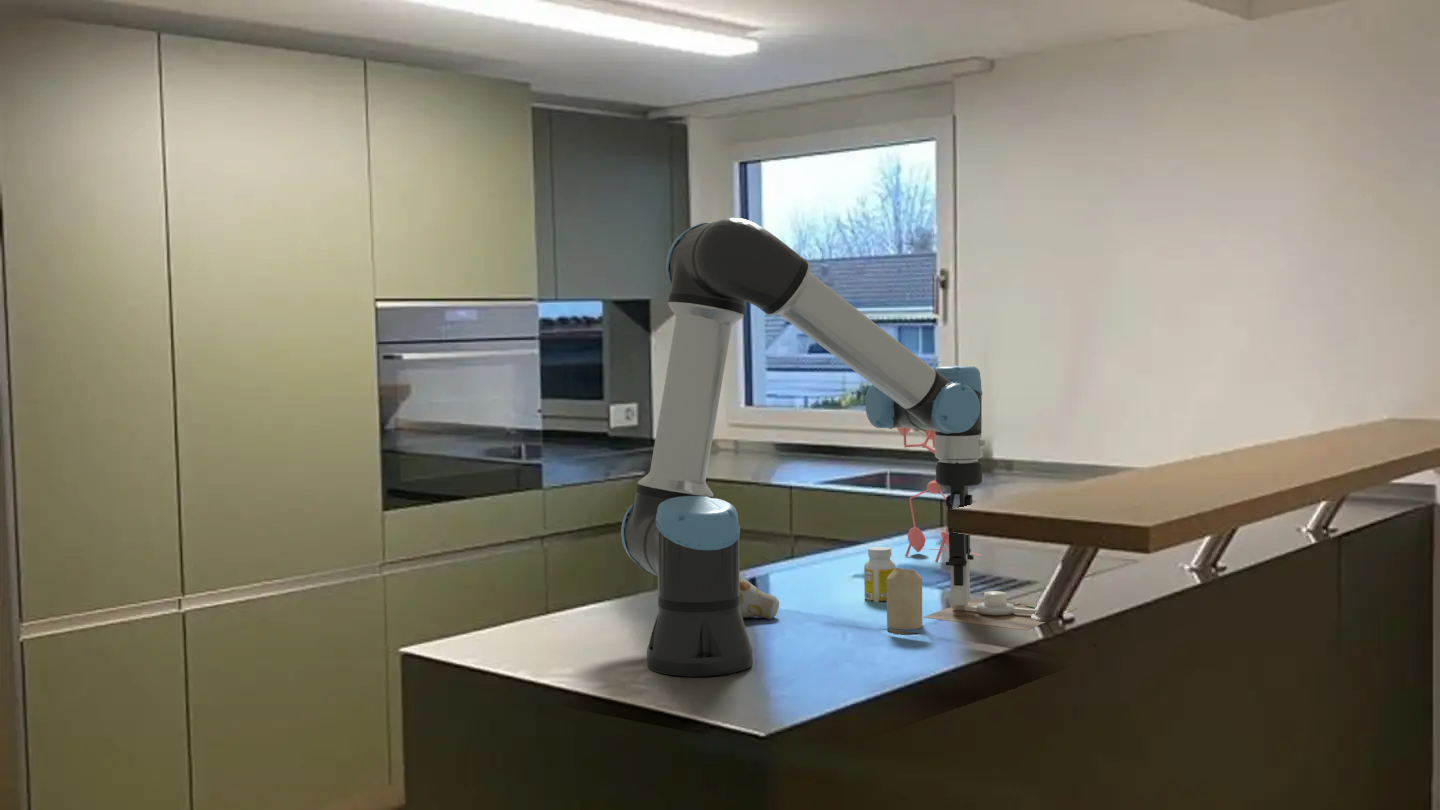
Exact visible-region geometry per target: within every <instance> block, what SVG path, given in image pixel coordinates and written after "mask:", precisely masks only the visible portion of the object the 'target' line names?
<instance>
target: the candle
mask: <svg viewBox="0 0 1440 810" xmlns="http://www.w3.org/2000/svg"><path fill="white" fill-rule="evenodd" d="M886 626H887V627H888V628H886V629H887V630H886V631H887V632H888V633H889V634H892V633H893V634H894V635H899V634H900V635H899V636H911V635H912V636H913V635H918V634H920V632H914V631H913V632H912V631H906V630H916V629H919V628H922V627H923V577H922V576H921V575H920V574H919V573H918V572H917V571H916V570H915V569H913V568H912V569H908V568H907V569H906V568H900V567H896V569H894V570H893V571H892V572H891V574H890V575H889V576H888V577H887V602H886Z"/></svg>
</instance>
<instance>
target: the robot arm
mask: <svg viewBox="0 0 1440 810" xmlns="http://www.w3.org/2000/svg"><path fill="white" fill-rule="evenodd" d="M665 263H666V264H665V266H666V276H667V278H668V281H669V284H670V291H669V297H668V301H667V302H668V303H667V304H668V307H669V308H670V310H671V311H672V313H673V314H674V316H675V320H674V321H675V322H674V326H673V327H674V328H673V332H672V333H673V334H672V339H671V345H670V351H669V356H668V362H667V363H668V364H667V367H666V373H665V374H666V375H665V379H664V387H663V393H662V398H661V403H660V410H659V417H658V422H657V429H656V433H655V439H654V444H653V450H652V451H653V452H652V458H651V462H650V463H651V464H650V469H649V472H648V473H647V474H646V475H644V476H643V477H642V478H640V479H639V480H638V481H637V486H636V490H635V491H636V493H635V498H634V502H633V503H632V504H631V505H630V506H629V508H628V509H627V510H626V512H625V514H624V516H623V520H622V522H621V529H620V535H621V542H622V545H623V548H624V550H625V552H626V554H627V556H629V558H630V559H631V560H632V561H633V562H634V564H635V565H636V566H638V567H639V569H640V570H643V571H644V572H647V573H648V574H651V575H653V576H657V600H658V601H657V603H658V605H657V606H658V608H657V615H656V617H655V622H654V625H653V628H652V632H651V634H650V635H651V636H650V639H649V644H648V646H647V648H646V666H647V668H649V670H652V671H653V672H657V673H660V674H664V675H669V676H670V675H672V676H679V677H681V676H682V677H713V676H722V675H728V674H730V675H731V674H734V673H738V672H742V671H745V670H747V669H749V668H750V667H752V665H753V663H754V661H753V659H754V658H753V657H754V656H753V655H754V654H753V653H754V652H753V646H752V644H751V642H750V639H749V635H748V632H747V629H746V625H745V622H744V618H742V616H741V613H740V599H739V595H740V587H739V577H740V536H741V527H740V523H739V514H738V511H737V509H736V508H735V505H733V504H731V503H730V502H728V501H726V500H723V499H720V498H714V493H713V492H712V490H711V489H710V487H709V486H708V484H707V482H706V480H707V474H708V468H709V463H710V457H711V450H712V445H713V438H714V432H715V427H716V426H715V425H716V420H717V416H718V415H717V414H718V409H719V403H720V397H721V391H722V385H723V379H724V373H725V367H726V361H727V355H728V351H729V350H728V349H729V344H730V339H731V337H730V336H731V332H732V328H733V326H734V325H735V324H736V323H738V322H739V321H740V320H742V319H743V318H744V314H745V310H746V309H745V308H746V304H747V303H749V304H751V305H753V306H756V307H757V309H759V310H760V311H763V313H765V314H767V315H768V316H776V315H779V316H781V317H782V318H784V320H786V321H787V322H788V323H789V324H791V325H793V326H794V327H795V328H797V329H798V330H799V331H801V332H802V333H803V334H804V335H806V336H808V337H809V338H810V340H813V341H814V342H815V343H816V344H818V346H820V347H822V348H823V349H824V350H825V351H827V352H828V353H830V354H831V355H833V356H834V357H835V358H836V359H838V360H839V361H841V362H842V363H843V364H845V365H846V366H847V367H848V368H850V369H851V370H853V371H854V372H855V373H856V374H858V375H859V376H861V377H862V378H863V379H865V380H866V381H867V382H869V383H870V384H871V385H870V386H869V387H868V390H867V391H866V395H865V405H864V406H865V413H866V414H865V415H866V416H867V419H868V421H869V423H870V424H871V426H873V427H875V428H876V429H889V430H892V429H897V428H911V430H912V429H913V430H923V431H926V430H931V431H935V448H934V450H935V454H934V456H935V457H934V458H936V459H938V461H937V462H936V463H935V477H936V482H937V484H939V485H940V486H947V487H948V486H949V487H950V490H949V491H950V492H949V494H947V496H945V497H946V500H945V505H946V511H947V510H948V511H949V510H950V509H954V508H959V507H964V506H967V505H971V504H972V505H973V495H972V494H969V488H968V487H972V486H979V485H981V484H982V482H983V463H982V462H981V461H980V460H979V459H981V458H982V457H983V454H982V453H983V451H982V450H983V449H982V446H983V447H985V446H986V444H987V442H986V440H985V439H981V438H982V427H983V425H982V423H983V420H982V412H983V411H982V406H983V405H982V403H983V402H982V398H983V397H982V396H983V391H982V389H983V388H982V378H981V372H980V370H979V368H977V366H974V365H973V366H972V365H946V366H945V365H944V366H938V367H936V368H935V369H934V368H933V367H932V366H931V365H929V364H928V363H927V362H926V361H924V360H923V359H922V358H920V357H919V356H918V355H917V354H915V353H914V352H912V351H911V350H910V349H909V348H907V347H906V346H905V345H903V344H902V343H901V342H899V341H898V340H897V339H896V338H894V336H892V334H890V333H888V332H887V331H885V329H883V328H882V327H881V326H879V325H878V324H877V323H875V322H874V321H873V320H871V318H869V317H868V316H867V315H865V314H864V313H863V312H861V311H860V310H859V309H857V308H856V307H855V306H854V305H852V304H851V303H850V302H848V301H847V300H846V299H844V298H843V297H842V296H841V295H839V294H838V293H837V292H835V290H833V289H831V288H830V286H829V285H827V284H826V283H824V282H823V281H822V280H821V279H819V278H818V277H816V276H815V275H814V274H813V273H812V272H811V265H810V262H808V261H807V260H806V259H805V258H804V257H803V256H801V255H800V254H799V253H798V252H796V251H795V250H793V249H792V248H791V247H789V246H788V245H787V244H786V243H784V241H782V240H781V239H779V238H778V237H777V236H775V235H774V234H772V232H770V231H769V230H768V229H765V228H764V227H763V226H760V225H758V224H757V223H756V222H754V221H751V220H748V219H745V218H738V217H729V218H724V219H720V220H717V221H712V222H702V223H699V224H696V225H693V226H691V227H690V228H688V229H687V230H685V231H683V232H682V233H681V234H679V235H678V236H677V237H676V239H674V241H673V243H672V244H671V246H670V248H669V250H668V253H667V256H666V262H665ZM746 302H747V303H746ZM972 505H971V506H972ZM948 535H949V547H948V552H949V553H948V554H949V555H948V561H945V566H950V567H949V568H950V569H949V570H950V571H949V572H950V576H949V577H950V605H951V606H952V605H968V600H971V580H970V579H971V577H970V575H971V574H970V572H971V571H970V567H971V564H970V561H973V560H974V559H975V558H974V557H975V556H974V555H975V554H971V553H972V552H971V551H972V549H971V534H970V535H965V534H958V533H953V532H952V530H950V528H949V527H948ZM970 552H971V553H970ZM966 554H967V561H966ZM966 564H967V565H966Z"/></svg>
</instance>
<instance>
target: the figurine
mask: <svg viewBox="0 0 1440 810" xmlns="http://www.w3.org/2000/svg"><path fill="white" fill-rule="evenodd" d="M896 429H897V431H898V432H899V434H900V435H901V436H903V448H917V447H918V448H919V447H920V448H921V447H922V448H924V449H927V450H928V451H930V452H931V453H933V455H935V431H931V430H925V437H926V438H925V440H924V442H922V443H918V444H917V443H915V444H907V434H908V433H909V432H911V430H912V428H896ZM929 440H931V441H932V447H930V446H929V445H927V444H928V442H929ZM983 451H984V450H983V449H982V452H983ZM928 492H929V493H931V494H934V495H935V494H937V493H938V494H939V493H940V494H941V496H942V497H943V499H944V501H946V496H945V494H944V493H943V490H942V489H941V485H939V484H937V482H936V476H935V478H934V479H933V480H931V481H929V482H928V483H927V488H926V489H925V490H923V491H920V493H917V494H915V495H912V496H911V497H909V499H908V500H909V507H910V513H911V519H912V523H913V527H912V528H909V531H908V533H907V541H908V543H909V544H908V547H907V549H906V552H905V554H904V557H906V558H907V557H908V556H909V554H910V550H911V548H913V549H914V550H915V552H916V553H919V552H921V551H922V550H923V549H924V547H925V546H926V537H925V535H924V532H923V531H922V529H920V528H918V527H916V526H917V525H916V520H915V515H914V509H913V504H912V500H913V499H914V498H917V497H918V496H920V495H922V494H924V493H928ZM940 536H941V538H942V541H941V544H940V546H939V548H930V551H931V550H935V551H937V550H938V552H937V555H936V558H935V560H934V562H935V563H938V562H939V559H940V556H941V553H942V551H948V548H949V531H948V532H947V527H946V526H945V531H942V532H941V534H940ZM944 545H946V546H947V549H946V548H944V547H945V546H944ZM970 554H971V555H977V556H980V557H982V555H981V554H978V553H975V552H970Z"/></svg>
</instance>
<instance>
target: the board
mask: <svg viewBox="0 0 1440 810" xmlns="http://www.w3.org/2000/svg"><path fill="white" fill-rule="evenodd" d="M983 602H984V597H979V596H977V597H974V598H970V600H968V605H971V606H977V604H979V603H983ZM1007 603H1010V604H1013V605H1014V607H1015V608H1029V609H1035V608H1036V607H1037V604H1038V603H1033V602H1023V601H1022V602H1021V601H1015V600H1007ZM1068 607H1069V606H1068ZM1077 609H1078V608H1077V607H1069V609H1068V613H1070V612H1073V611H1074V610H1077ZM1031 615H1032V614H1021V613H1013V614H1009V615H986V614H981V613H978V612H977V611H974V610H956V609H952V606H950V607H947V608H944V609H940V610H939V611H936V612H933V613H931V614H928V615H926V616H922V619H923V618H924V619H931V620H932V619H933V620H940V621H951V622H955V623H965V624H966V623H967V624H974V625H981V626H982V625H983V626H991V627H998V628H1005V629H1006V628H1008V629H1014V630H1020V631H1021V630H1023V631H1029V630H1031V629H1034V628H1036V627H1038V626H1041V625H1042V624H1045V623H1046V622H1039V621H1036V620H1034V619H1032V618H1031Z"/></svg>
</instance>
